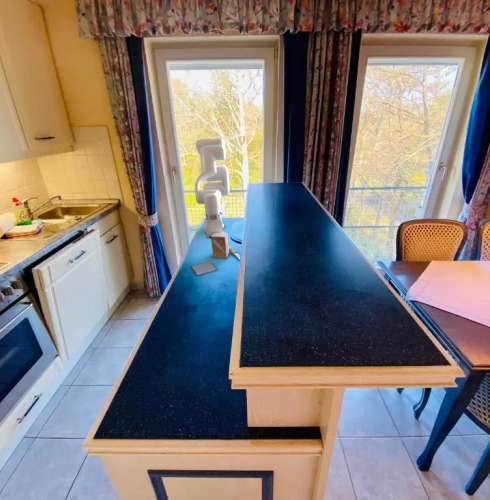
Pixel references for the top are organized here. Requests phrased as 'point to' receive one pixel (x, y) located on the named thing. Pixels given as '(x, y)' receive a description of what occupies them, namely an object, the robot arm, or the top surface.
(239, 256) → the knife
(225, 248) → the small box
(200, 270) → the cloth
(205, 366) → the top surface
